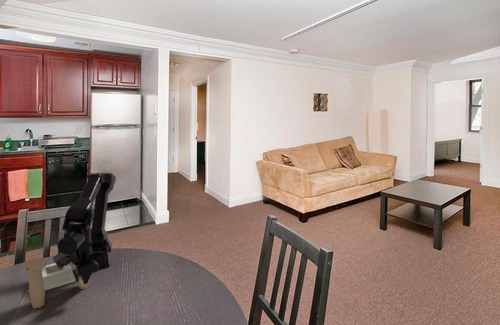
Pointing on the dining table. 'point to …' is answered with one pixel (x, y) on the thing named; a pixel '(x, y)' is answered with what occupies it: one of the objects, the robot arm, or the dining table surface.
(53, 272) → the socket plate
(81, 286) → the dowel
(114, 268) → the dining table surface
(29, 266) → the handle
